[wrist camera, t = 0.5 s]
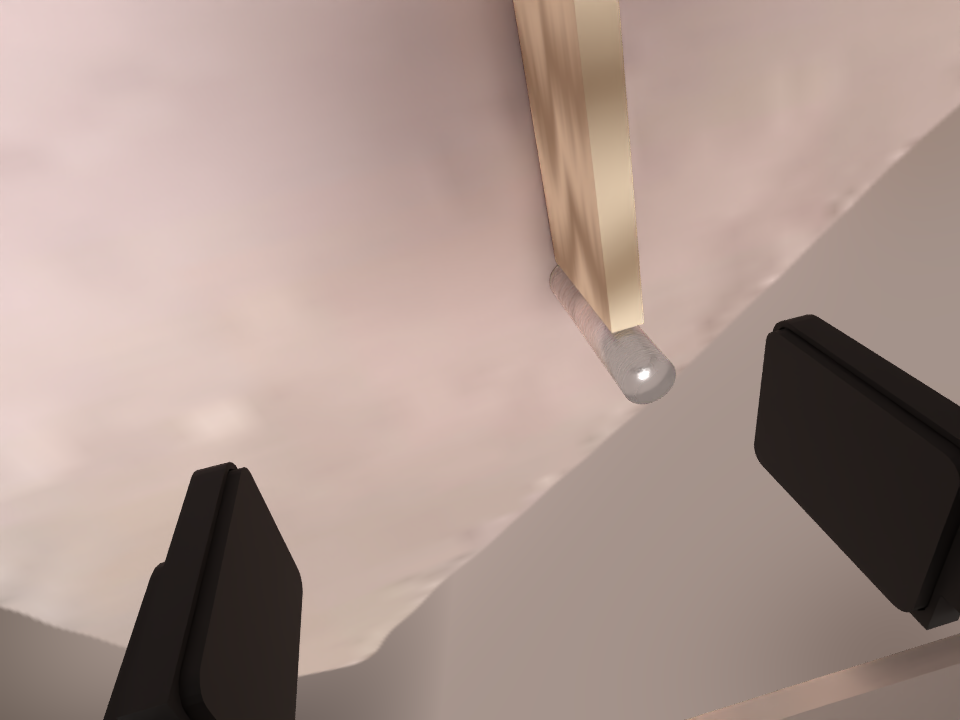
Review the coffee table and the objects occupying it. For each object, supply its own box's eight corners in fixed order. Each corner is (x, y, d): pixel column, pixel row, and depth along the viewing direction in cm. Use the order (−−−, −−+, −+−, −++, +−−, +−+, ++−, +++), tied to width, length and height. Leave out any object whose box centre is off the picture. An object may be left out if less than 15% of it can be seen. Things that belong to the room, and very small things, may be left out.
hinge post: (586, 255, 34) (674, 350, 25) (591, 291, 35) (676, 395, 26) (546, 266, 34) (620, 366, 25) (552, 302, 35) (625, 410, 26)
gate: (581, 253, 33) (645, 323, 26) (554, 261, 33) (610, 333, 26) (517, -224, 22) (595, -326, 15) (477, -213, 22) (536, -311, 15)
